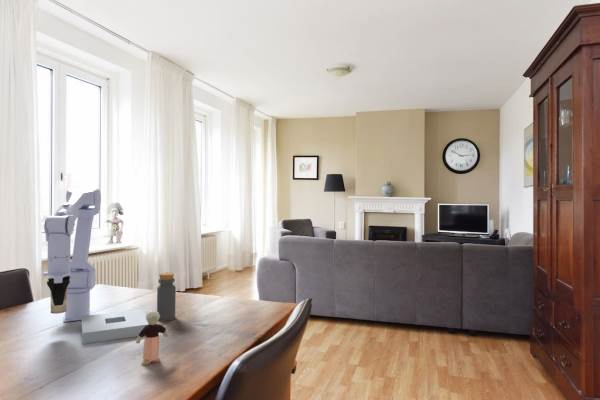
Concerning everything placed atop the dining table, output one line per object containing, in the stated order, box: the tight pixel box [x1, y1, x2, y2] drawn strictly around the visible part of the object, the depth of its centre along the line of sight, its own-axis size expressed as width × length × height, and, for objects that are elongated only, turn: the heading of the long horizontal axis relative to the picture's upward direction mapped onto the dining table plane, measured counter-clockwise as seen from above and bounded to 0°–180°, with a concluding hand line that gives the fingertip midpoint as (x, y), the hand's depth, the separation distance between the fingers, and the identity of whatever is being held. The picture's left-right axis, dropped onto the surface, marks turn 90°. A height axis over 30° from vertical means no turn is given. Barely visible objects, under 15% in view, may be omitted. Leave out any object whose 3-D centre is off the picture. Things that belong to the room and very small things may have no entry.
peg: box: [50, 289, 67, 315], centre depth 119 cm, size 4×4×8 cm
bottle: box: [156, 272, 177, 322], centre depth 136 cm, size 6×6×15 cm
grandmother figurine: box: [135, 309, 169, 366], centre depth 101 cm, size 8×4×13 cm, turn 139°
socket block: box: [80, 308, 149, 345], centre depth 124 cm, size 18×18×3 cm
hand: (58, 303), depth 119 cm, fingers closed on peg, 4 cm apart
